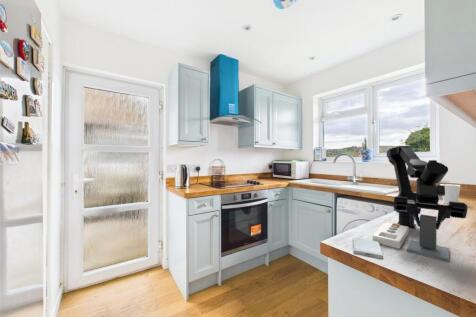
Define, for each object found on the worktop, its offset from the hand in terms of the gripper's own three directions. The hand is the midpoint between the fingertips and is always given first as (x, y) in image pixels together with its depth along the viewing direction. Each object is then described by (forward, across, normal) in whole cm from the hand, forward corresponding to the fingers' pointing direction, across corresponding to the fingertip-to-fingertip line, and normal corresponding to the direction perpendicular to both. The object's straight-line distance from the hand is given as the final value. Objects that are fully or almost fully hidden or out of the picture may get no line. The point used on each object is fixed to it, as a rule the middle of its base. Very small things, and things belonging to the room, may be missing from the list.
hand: (428, 227), depth 68 cm
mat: (+5, 0, +7) cm, 8 cm away
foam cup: (-69, +14, +82) cm, 108 cm away
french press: (-82, +11, +95) cm, 126 cm away
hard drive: (+14, -16, -1) cm, 21 cm away
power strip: (-1, -10, +12) cm, 16 cm away
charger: (+4, 0, +6) cm, 7 cm away
